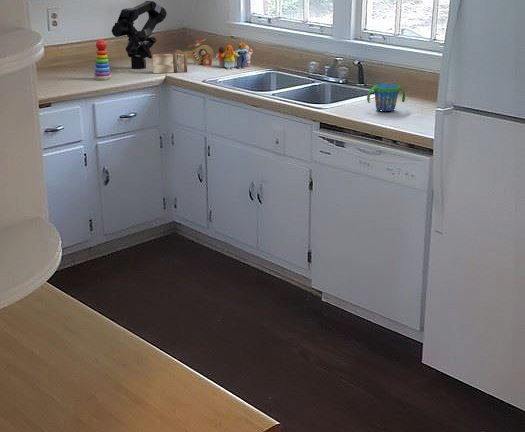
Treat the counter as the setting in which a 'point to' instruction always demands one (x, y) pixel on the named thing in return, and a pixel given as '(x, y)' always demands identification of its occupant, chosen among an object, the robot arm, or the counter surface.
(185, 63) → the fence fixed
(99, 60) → the stacking toy
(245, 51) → the doll family
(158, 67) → the fence gate
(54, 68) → the counter surface
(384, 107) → the snack cup
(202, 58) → the toy helicopter
